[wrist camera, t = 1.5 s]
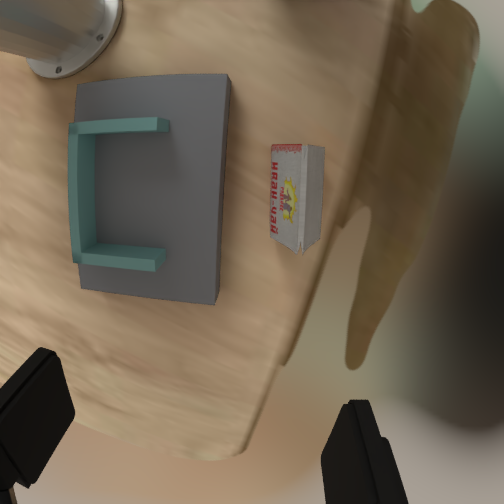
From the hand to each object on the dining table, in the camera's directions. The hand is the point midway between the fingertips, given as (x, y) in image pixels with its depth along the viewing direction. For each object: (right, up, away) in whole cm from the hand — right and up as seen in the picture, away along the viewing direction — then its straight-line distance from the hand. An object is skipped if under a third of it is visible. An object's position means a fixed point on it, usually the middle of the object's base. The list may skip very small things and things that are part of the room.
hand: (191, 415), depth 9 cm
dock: (-8, +11, +20) cm, 24 cm away
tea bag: (+5, +11, +20) cm, 23 cm away
